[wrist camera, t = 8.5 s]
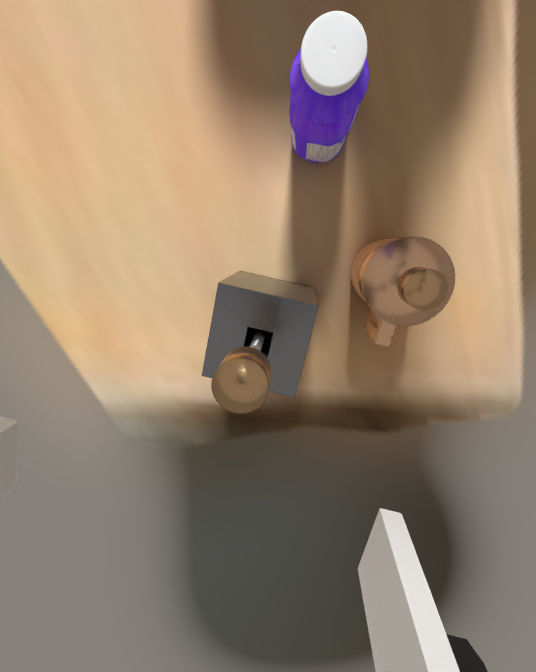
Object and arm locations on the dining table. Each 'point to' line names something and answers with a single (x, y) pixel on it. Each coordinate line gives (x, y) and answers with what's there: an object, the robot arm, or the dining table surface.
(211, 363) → the cube with square hole
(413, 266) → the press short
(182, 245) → the dining table surface
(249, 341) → the plunger tall
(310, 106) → the bottle
